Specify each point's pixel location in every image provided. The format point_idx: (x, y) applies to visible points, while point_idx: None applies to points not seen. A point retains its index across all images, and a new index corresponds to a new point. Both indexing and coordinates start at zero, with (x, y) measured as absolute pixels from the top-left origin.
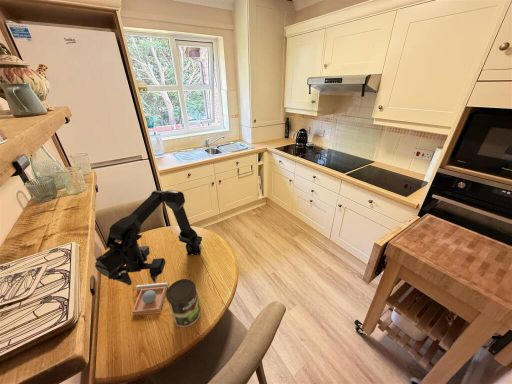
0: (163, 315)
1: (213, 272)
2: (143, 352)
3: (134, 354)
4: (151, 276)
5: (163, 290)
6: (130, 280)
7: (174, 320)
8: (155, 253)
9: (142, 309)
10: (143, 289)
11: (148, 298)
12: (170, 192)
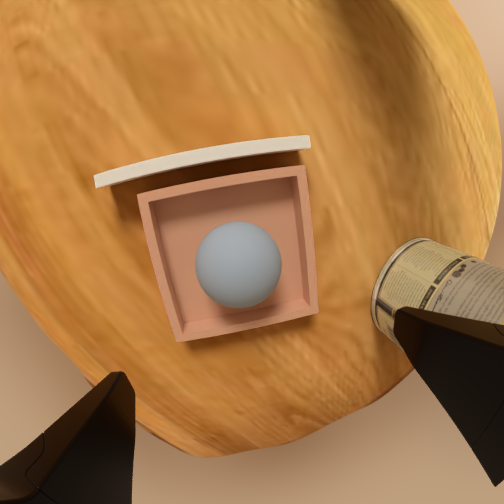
0: (328, 311)
1: (457, 95)
2: (297, 415)
3: (271, 422)
4: (496, 471)
5: (302, 195)
6: (112, 410)
7: (383, 331)
8: None
9: (228, 327)
10: (154, 196)
11: (258, 301)
12: None
